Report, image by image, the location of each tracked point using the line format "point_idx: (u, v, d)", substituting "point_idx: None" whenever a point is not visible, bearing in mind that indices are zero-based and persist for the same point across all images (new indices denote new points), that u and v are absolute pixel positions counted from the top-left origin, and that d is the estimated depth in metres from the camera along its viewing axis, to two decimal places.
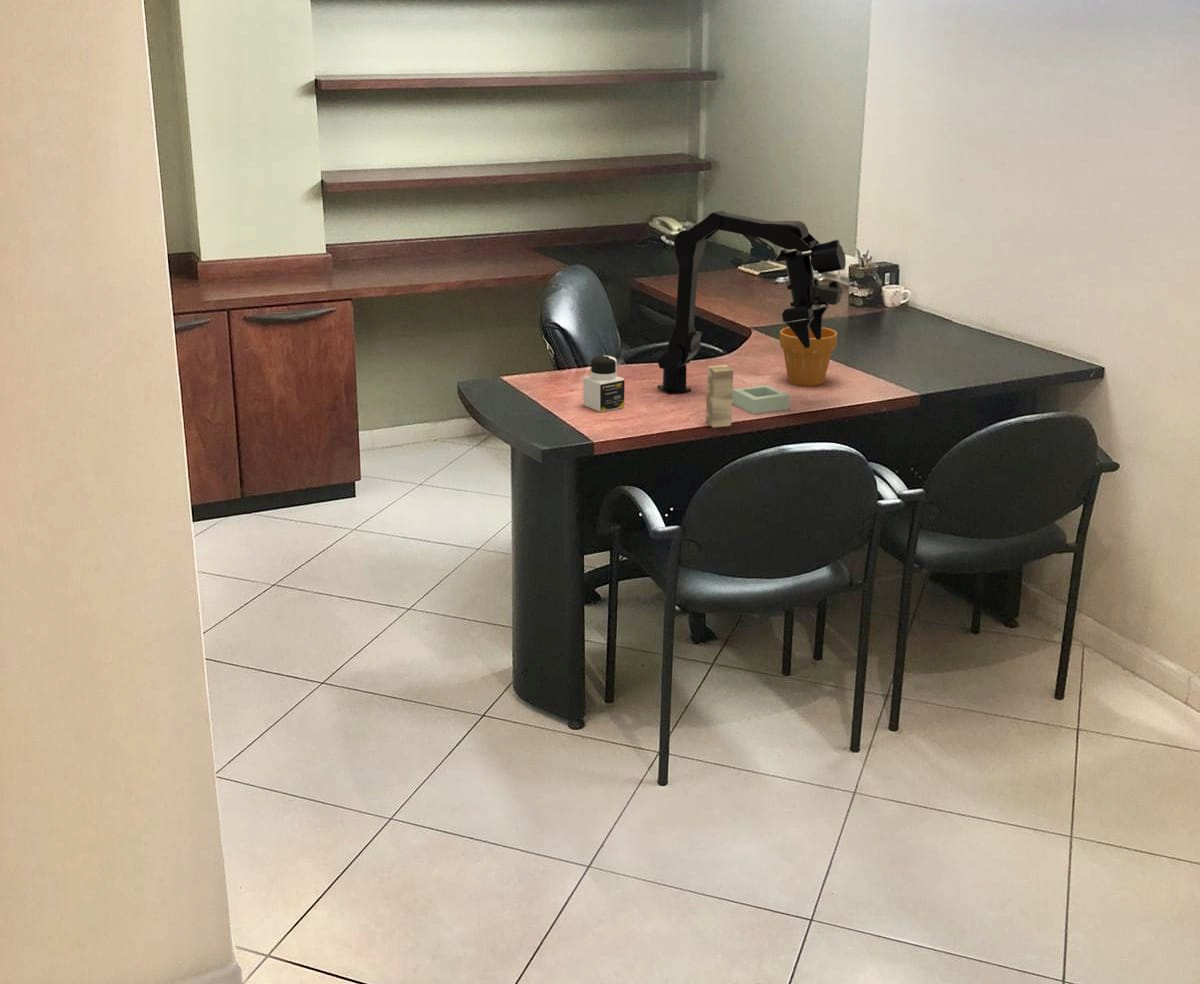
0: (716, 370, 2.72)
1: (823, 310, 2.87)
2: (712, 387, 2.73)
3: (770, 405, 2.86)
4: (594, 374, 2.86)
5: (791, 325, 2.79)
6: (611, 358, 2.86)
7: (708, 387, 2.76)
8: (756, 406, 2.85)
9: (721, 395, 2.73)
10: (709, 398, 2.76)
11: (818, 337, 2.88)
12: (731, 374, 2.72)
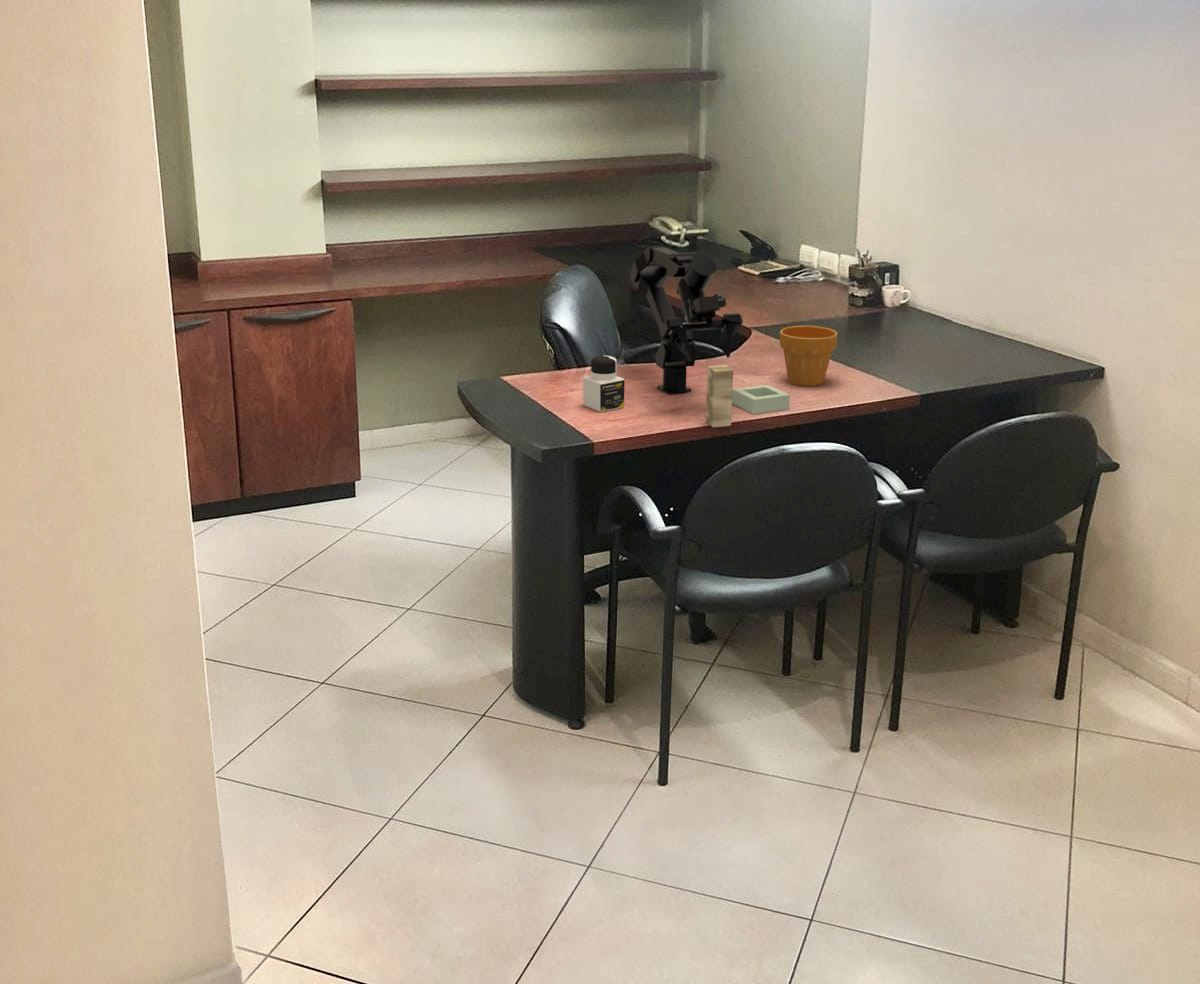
0: (716, 370, 2.72)
1: (726, 327, 2.82)
2: (712, 387, 2.73)
3: (770, 405, 2.86)
4: (594, 374, 2.86)
5: (674, 342, 2.82)
6: (611, 358, 2.86)
7: (708, 387, 2.76)
8: (756, 406, 2.85)
9: (721, 395, 2.73)
10: (709, 398, 2.76)
11: (727, 355, 2.81)
12: (731, 374, 2.72)
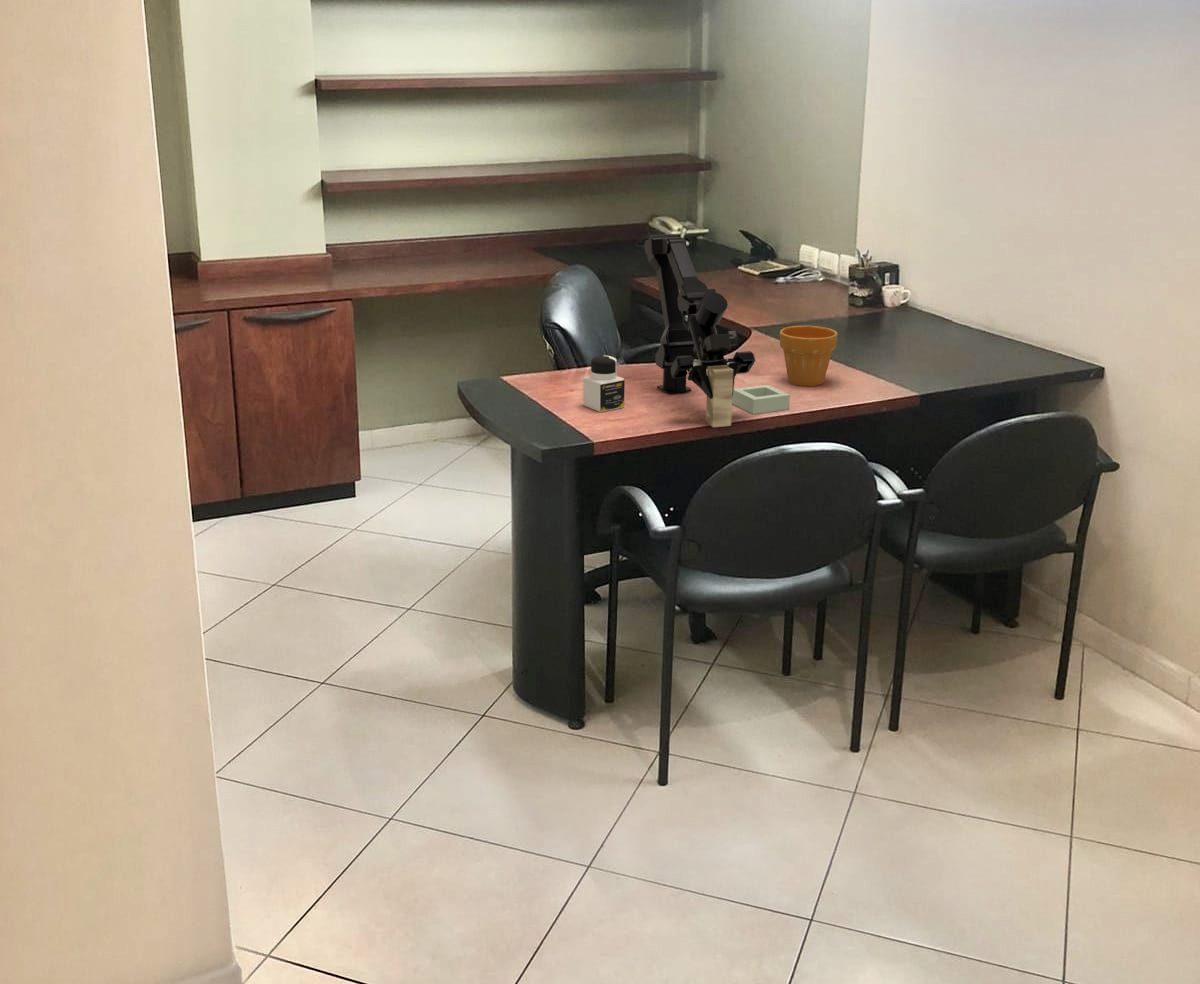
0: (716, 370, 2.72)
1: (729, 366, 2.76)
2: (712, 387, 2.73)
3: (770, 405, 2.86)
4: (594, 374, 2.86)
5: (694, 380, 2.77)
6: (611, 358, 2.86)
7: None
8: (756, 406, 2.85)
9: (721, 395, 2.73)
10: (709, 398, 2.76)
11: None
12: (731, 374, 2.72)
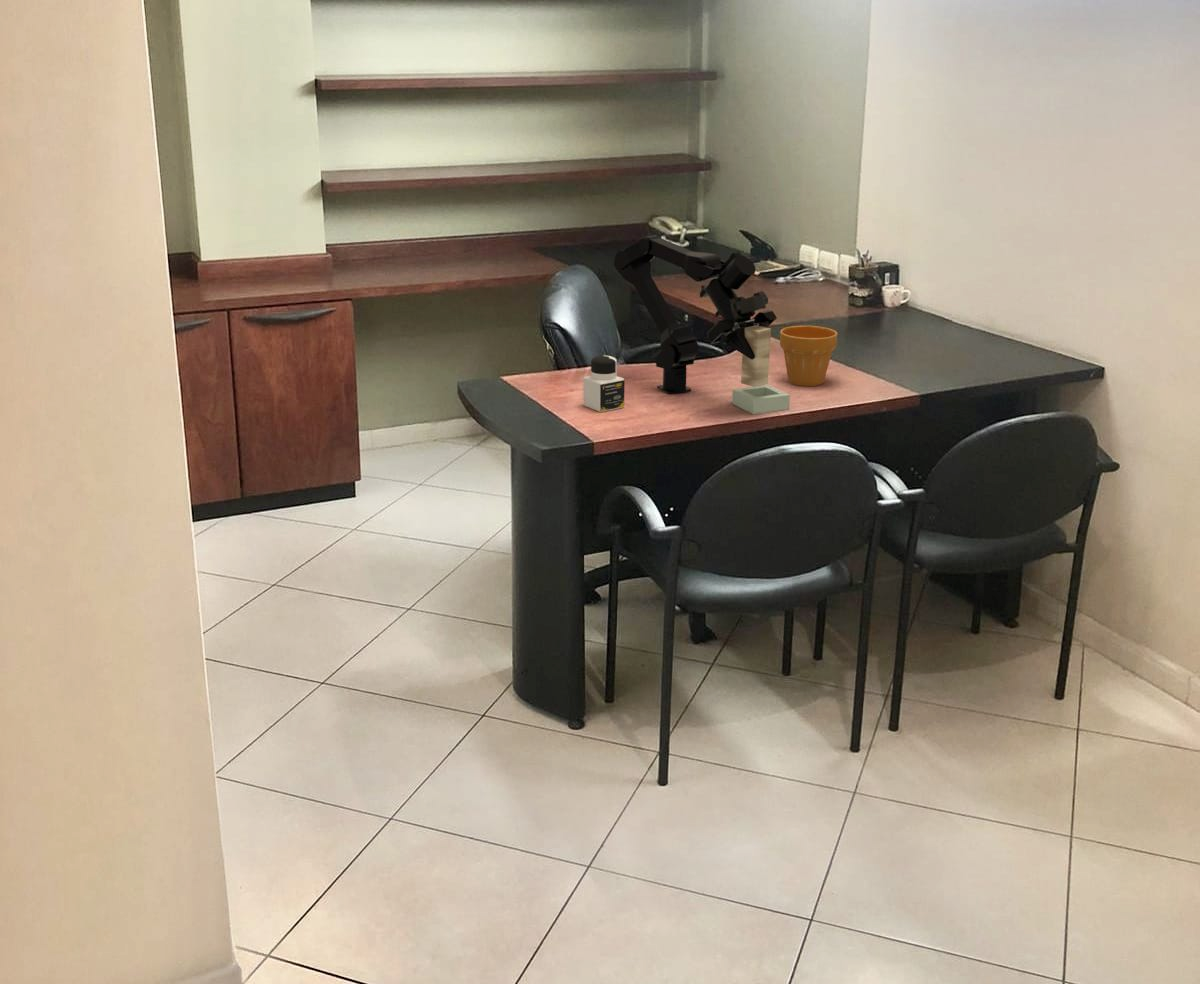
0: (758, 330, 2.78)
1: None
2: (753, 348, 2.79)
3: (770, 405, 2.86)
4: (594, 374, 2.86)
5: (729, 343, 2.81)
6: (611, 358, 2.86)
7: None
8: (756, 406, 2.85)
9: (762, 354, 2.80)
10: (748, 359, 2.81)
11: None
12: (769, 333, 2.80)
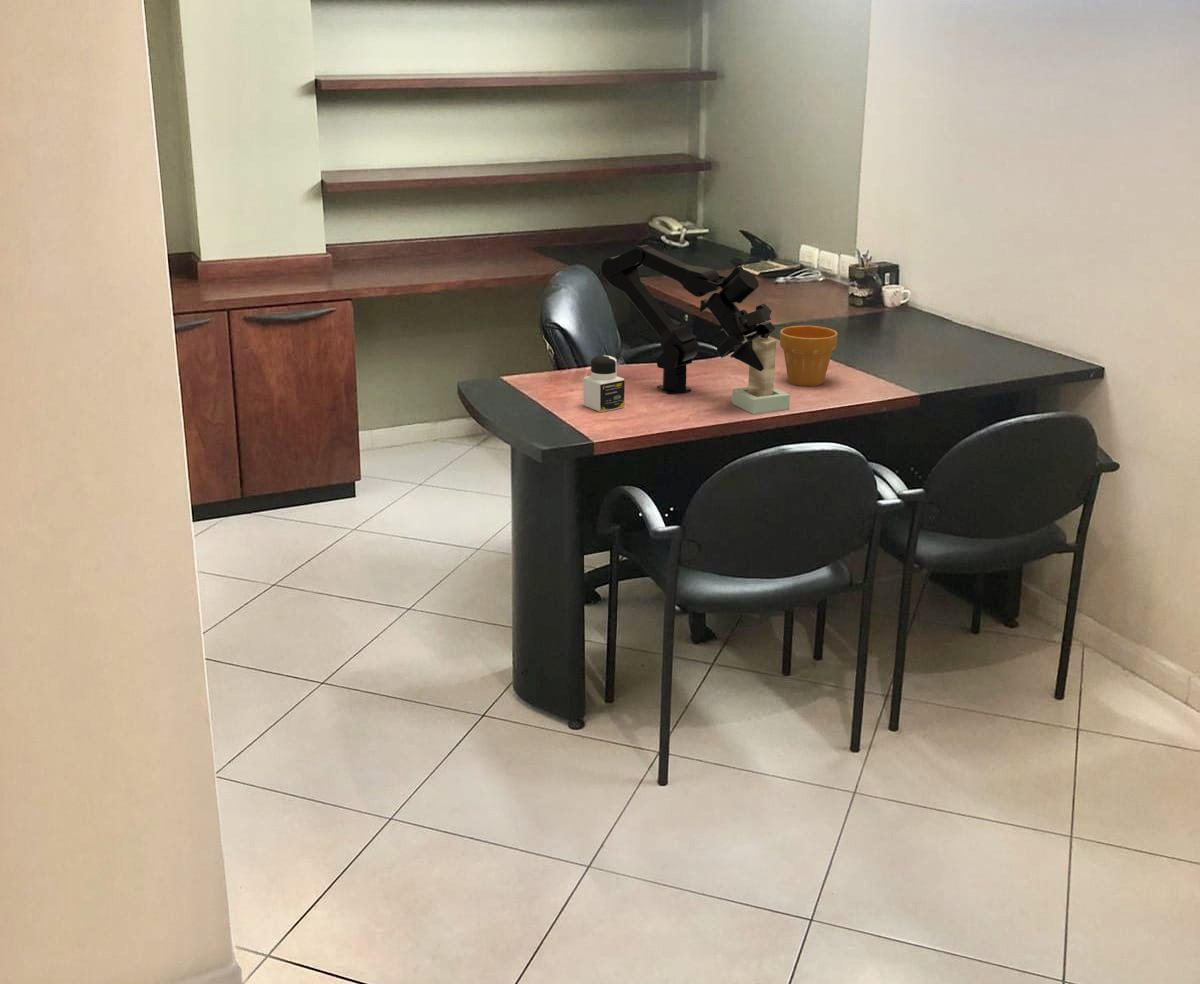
0: (766, 342, 2.83)
1: None
2: (762, 360, 2.85)
3: (770, 405, 2.86)
4: (594, 374, 2.86)
5: (737, 356, 2.86)
6: (611, 358, 2.86)
7: None
8: (756, 406, 2.85)
9: (769, 365, 2.86)
10: (755, 370, 2.86)
11: None
12: (775, 344, 2.86)
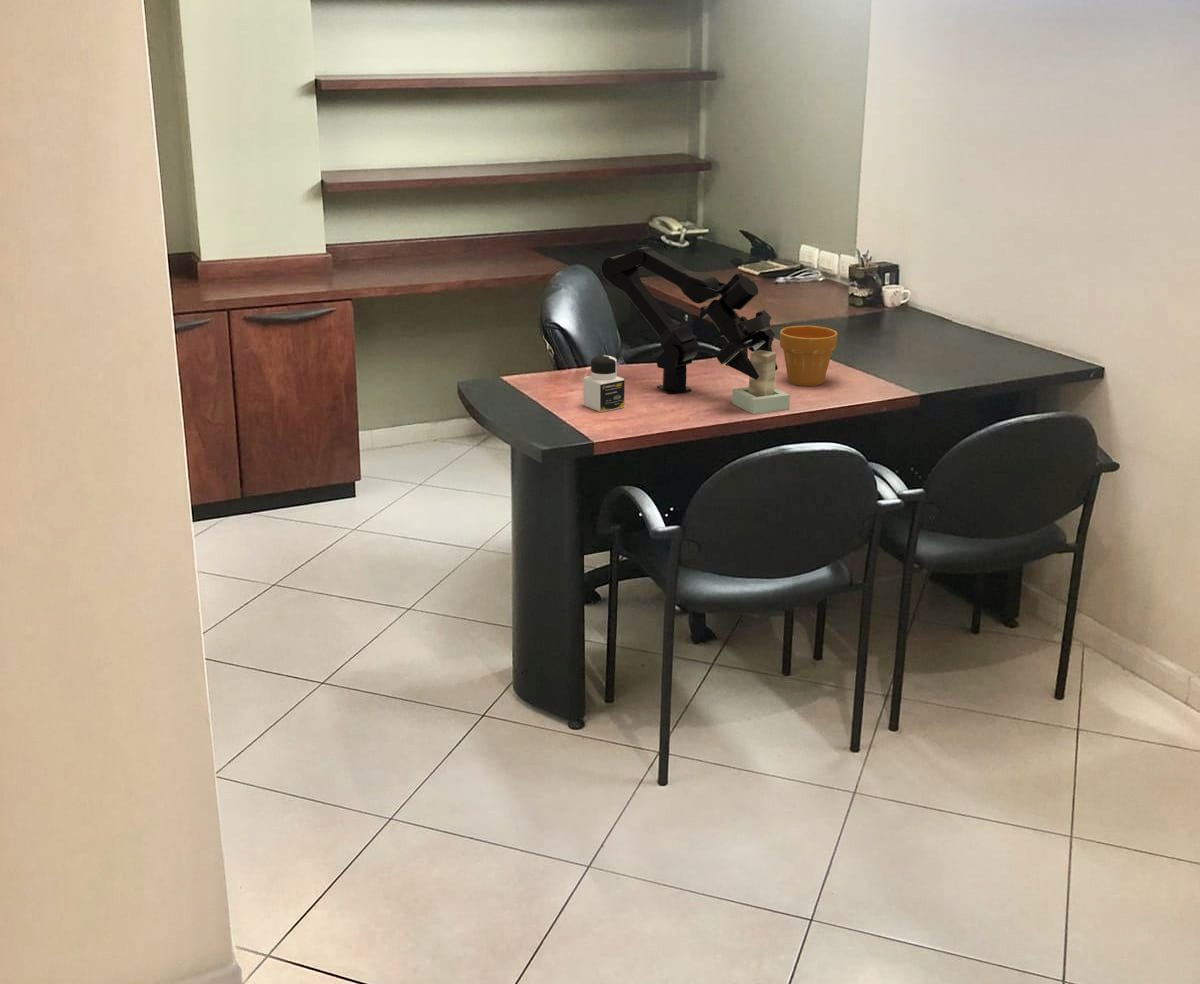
0: (766, 355, 2.84)
1: (767, 342, 2.91)
2: (762, 372, 2.86)
3: (770, 405, 2.86)
4: (594, 374, 2.86)
5: (732, 365, 2.85)
6: (611, 358, 2.86)
7: None
8: (756, 406, 2.85)
9: (769, 378, 2.87)
10: (755, 383, 2.87)
11: None
12: (775, 357, 2.87)
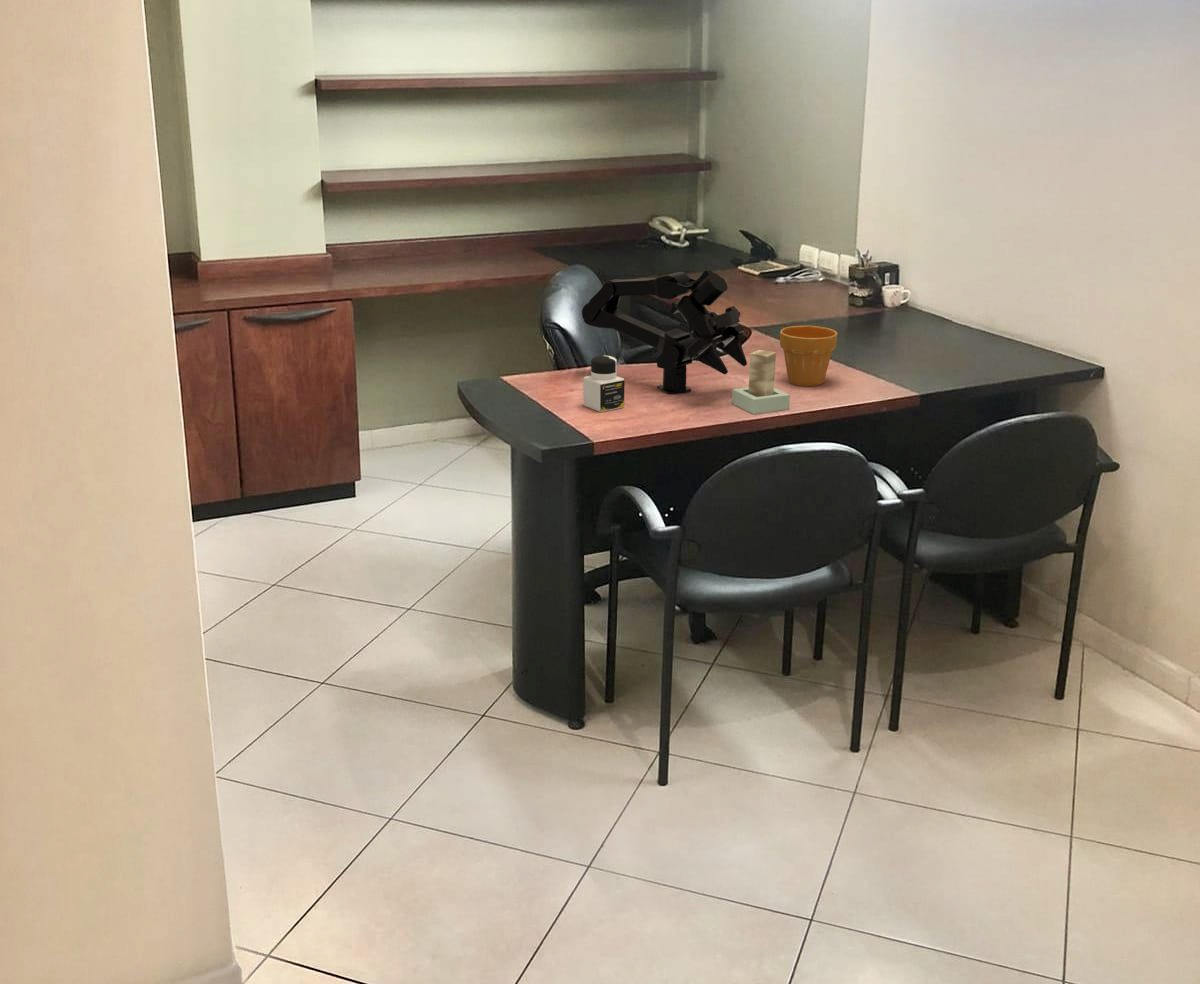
0: (766, 355, 2.84)
1: (736, 338, 2.95)
2: (762, 372, 2.86)
3: (770, 405, 2.86)
4: (594, 374, 2.86)
5: (701, 360, 2.89)
6: (611, 358, 2.86)
7: (753, 373, 2.87)
8: (756, 406, 2.85)
9: (769, 378, 2.87)
10: (755, 383, 2.87)
11: (744, 363, 2.95)
12: (774, 357, 2.87)
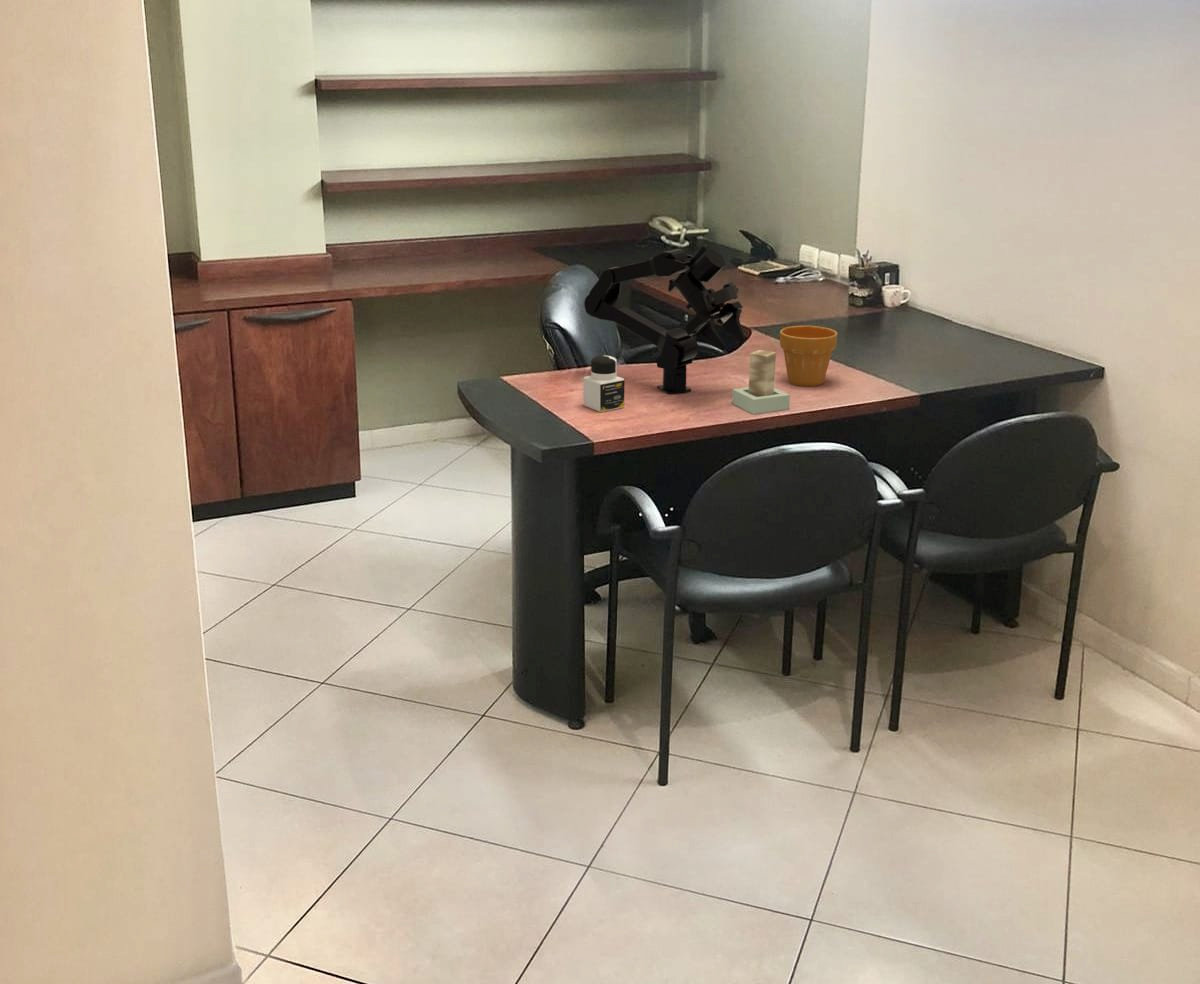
0: (766, 355, 2.84)
1: (735, 314, 2.94)
2: (762, 372, 2.85)
3: (770, 405, 2.86)
4: (594, 374, 2.86)
5: (700, 336, 2.87)
6: (611, 358, 2.86)
7: (753, 373, 2.87)
8: (756, 406, 2.85)
9: (769, 378, 2.87)
10: (755, 383, 2.87)
11: (742, 340, 2.94)
12: (774, 357, 2.87)
